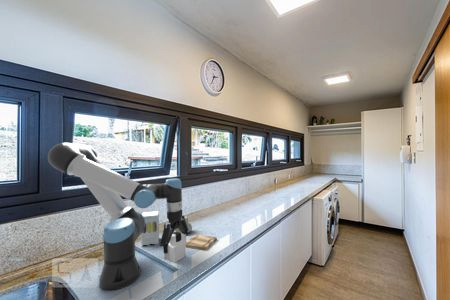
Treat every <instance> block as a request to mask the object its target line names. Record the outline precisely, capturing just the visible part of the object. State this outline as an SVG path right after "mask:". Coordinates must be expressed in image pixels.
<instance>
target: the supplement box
mask: <svg viewBox="0 0 450 300" xmlns="http://www.w3.org/2000/svg"><path fill="white" fill-rule="evenodd" d="M159 212H160V211H159V210H155V211H143V212H142V213H141V214H142V215H143V216H144V218H145V227H144V230H143V232H142V233H141V235H140V236H141V237H140V239H141V241H140V243H141V244H140V245H147V246H151V245H150V244H155V245H159V243H160V241H159V240H160V222H159V221H160V219H159V218H160V214H159Z"/></svg>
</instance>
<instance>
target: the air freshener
mask: <svg viewBox="0 0 450 300" xmlns="http://www.w3.org/2000/svg"><path fill="white" fill-rule="evenodd" d="M184 216H185V221H186V224H187V227H188V233H189V234H190V233H191V232H192V229H193V226H192V224H191V223H189V217H188V216H186V215H184ZM174 232H180V233H181V231H180V230H179V229H178V228H177V229H175V231H174ZM188 233H187V234H188Z"/></svg>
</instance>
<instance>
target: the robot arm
mask: <svg viewBox="0 0 450 300" xmlns="http://www.w3.org/2000/svg"><path fill="white" fill-rule="evenodd" d="M47 161H48V163H49V164H50V166H51V167H52V168H54V169H56V170H58V171H60V172H62V173H63V174H67V175H68V176H74V177H78V178H80V179H81V180H82V182H83V183H84V184H85V185H86V187H87V188H88V190H89V191H90V192H91V194H92V195H93V197H95V199H96V200H97V202H98V203H99V204H100V206H101V208H103V209H104V211H105V212H106V214H107V215H108V216H109V217H110V220H109V222H107V223H106V225H105V226H104V227H103V232H102V233H103V234H102V241H103V266H102V270H101V273H100V275H99V278H98V281H99V282H98V283H99V284H98V285H99V287H100V289H102V290H106V291H113V290H114V291H115V290H120V289H123V288H126V287H127V286H130V285H132V284H133V283H134V282H136V281H137V280H138V279H139V277H140V275H141V267H140V265H139V262H138V260H137V257H136V240H138V238H139V237H140V236H141V233H142V232H143V230H144V227H145V218H144V216H143V215H142V214H143V213H142V212H139V211H136V210H135V208H134V207H133V206H129V205H127V204H126V201H124V199H123V198H125V199H128V200H130V201H133V202H134V204H135V206H136V207H137V208H139V209H146V208H149V207H151V206H152V205H153V204H154V203H155V202H156V200H163V199H165V200H166V210H167V211H166V219H168V222H167V223H164V224H163V231H162V234H161V239H160V241H159V243H160V244H159V246H160V247H163V258H164V260H167V261H170V245H169V242H170V239H171V237H172V234H173V232H176V231H175V229H177V228H178V229H179V230H180V231H181V239H182V241H183V242H185V248H187V247H186V241H187V235H188V227H187V224H186V221H185V216H186V215H183V209H182V208H183V195H182V193H183V192H182V190H183V189H182V180H181V179H180V178H177V177H176V178H175V177H173V178H168V179H166V180H165V182H163V183H147V184H141V183H139V182H137V181H135V180H133V179H131V178H129V177H126V176H124V175H122V174H120V173H118V172H116V171H114V170H111V169H109V168H107V167H105V166H103V165H100V161H99V160H98V152H97V151H96V149H94V148H93V147H92V146H91V145H87V144H85V143H72V142H61V143H57V144H55V145H54V146H53V147H51V148H50V150H49V151H48V154H47ZM122 197H123V198H122Z"/></svg>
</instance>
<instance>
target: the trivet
mask: <svg viewBox="0 0 450 300" xmlns="http://www.w3.org/2000/svg"><path fill="white" fill-rule="evenodd" d="M216 241H217V236H209V235H203V234H197V233H196V234H194V235H193V236H192V237H190V238H189V239H187V240H186V247H185V248H188V249H195V250H199V251H204V252H205V251H207V250H208V249H209V248H210V247H211V246H212V245H213V244H215V242H216Z"/></svg>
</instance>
